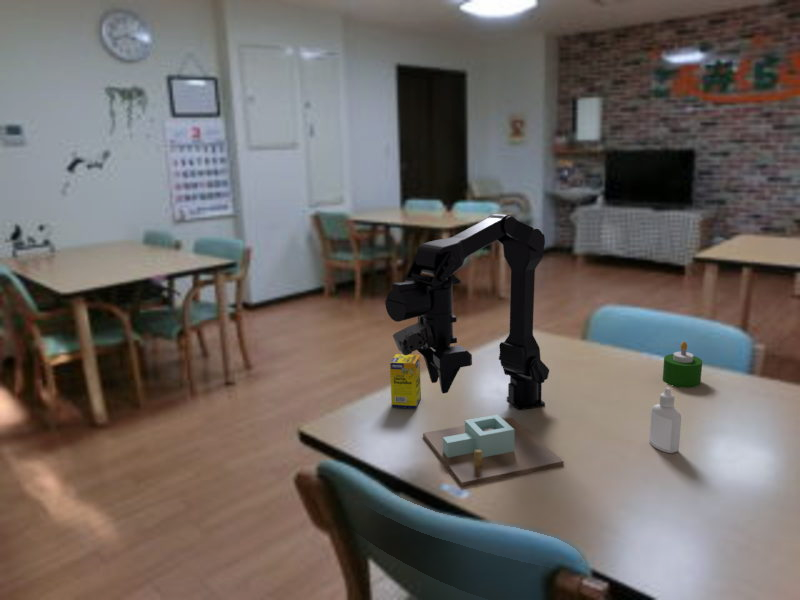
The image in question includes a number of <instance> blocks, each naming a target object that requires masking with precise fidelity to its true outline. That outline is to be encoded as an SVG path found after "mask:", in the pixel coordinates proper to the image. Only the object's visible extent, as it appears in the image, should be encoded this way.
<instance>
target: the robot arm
mask: <svg viewBox="0 0 800 600" xmlns="http://www.w3.org/2000/svg"><path fill="white" fill-rule="evenodd" d="M496 241H497V242H498V243H499V244H501V245H502V247H503V249H502V250H503V257H504V259H505V261H506V263H507V264H508V267H509V268H510V293H509V294H510V303H509V332H508V333H509V334H508V336H506V338H505V340H504V341H503V342H502V341H501V342H500V343H499V347H498V348H499V356H498V360H499V361H500V365H501V367H502V369H503V373H504V375H506V376H509V378H510V379H509V383H508V385H507V387H508V389H507V390H508V391H507V392H508V393H507V394H508V395H507V397H506V400H507V402H508V401H509V403H511V404H512V405H513V406H514V407H516V409H518V410H527V409H531V408H537V407H542V406H545V404H546V402H545V401H543V399H542V389H543V388H542V387H543V386H542V384H543V383H546V380H548V378H549V373H550V368H549V367H548V366H547V365H546V364H545V362H543V361H542V359H541V348H540V346H539V344H538V342H537V340H536V338H535V336H534V311H535V310H534V309H535V308H534V303H535V280H536V277H535V276H536V274H535V273H536V269H537V267H538V266H539V264H540V263H541V261H542V260H543V257H544V251H545V245H546V238H545V234H544V233H543V232H542V231H541V230H540V229H539V228H534V227H532V226H530V225H528V224H526V223H524V222H521V221H520V220H517V218H515V217H514V216H511V215H510V214H501V213H492V214H490V215H489V216H488V217H487V218H486V219H483V220H482V221H480V222H478V223H476V224H474V225H472V226H470V227H469V228H467V229H465V230H463V231H461V232H459V233H457V234H455V235H453V236H452V237H447V238H441V239H435V240H432V241H427V242H424V243H422V244H420V245H419V246H418V247H417V249H416V250H417V251H416V254H415V256H414V258H413V259H412V262H411V264H410V266H409V268H408V270H407V272H406V274H405V276H404V281H403V282H393V283H392V284H391V289H392V290H390V291H389V292H388V293H387V295H386V299H385V303H384V304H385V310H386V313H387V314H388V316H389V318H390V319H392V320H393V321H394V322H398V323H399V322H403V321H404V322H405V321H407V320H410V319H414V318H417V323H414V324H411V325H409V326H406V327H405V328H403V329H401V330H399V331H397V332H395V333H393V334H392V337H393V340H394V342H395V345H396V346H397V349H398V351H399V352H401V354H403V355H412V354H413V353H414V352H416V351H417V352H419V354H421V355H422V356H423V359H424V360H423V361H425V366H426V368H427V373H428V375H429V379H430V381H431V383H432V384H435V383H437V382H438V380H439V385H440V386H439V387H440V390H441V393H442V394H447V393H448V392H450V388H451V387H452V385H453V382H454V380H455V378H456V376H457V375H458V372H459V371H460V369H461V368H465V367H471V366H472V365H473V355H472V354H471V352H469V350H467V349H466V348H464V347H463V346H461V344H460V345H452V344H457V343H458V337H456V336H455V335H454V323H457V322H458V321H457V316H456V315H454V313H453V312H454V311H453V308H454V306H453V305H454V303H453V286H456V285H459V284H461V282H462V281H461V280H460V278H458V277H457V276H456V275H455V273H456V272H457V271H458V270H460V268H461V267H463V265H464V262H465V259H467V258H468V257H469V256H471V255H473V254H474V253H477V252H478V251H480V250H482V249H483V248H485V247H488V245H491V244H493V243H495V242H496ZM422 273H423V274H422ZM451 345H452V346H451ZM412 352H413V353H412Z"/></svg>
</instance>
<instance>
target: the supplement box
mask: <svg viewBox="0 0 800 600" xmlns="http://www.w3.org/2000/svg"><path fill="white" fill-rule="evenodd" d="M420 358H421V355H420V354H409V355H403V354H402V353H396V354H394V356H393V358H392V359H391V360H390V362H389V371H390V372H389V373H390V397H391V408H393V409H395V408H396V409H413V410H414V409H417V408H418V406H419V403H420V401H421V400H422V387H421V386H422V385H421V384H422V383H421V361H420V360H421V359H420Z"/></svg>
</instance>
